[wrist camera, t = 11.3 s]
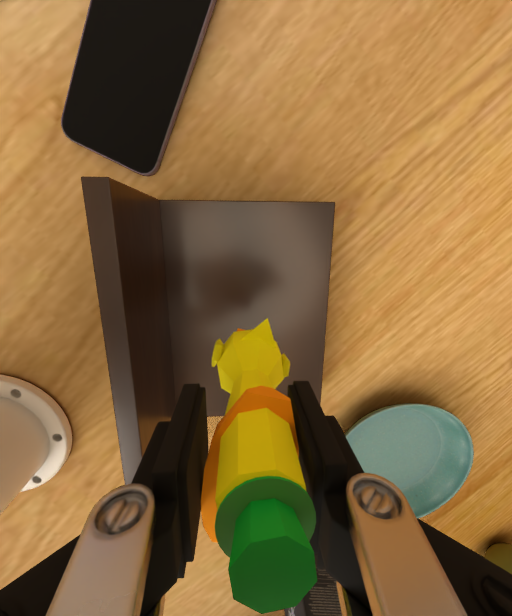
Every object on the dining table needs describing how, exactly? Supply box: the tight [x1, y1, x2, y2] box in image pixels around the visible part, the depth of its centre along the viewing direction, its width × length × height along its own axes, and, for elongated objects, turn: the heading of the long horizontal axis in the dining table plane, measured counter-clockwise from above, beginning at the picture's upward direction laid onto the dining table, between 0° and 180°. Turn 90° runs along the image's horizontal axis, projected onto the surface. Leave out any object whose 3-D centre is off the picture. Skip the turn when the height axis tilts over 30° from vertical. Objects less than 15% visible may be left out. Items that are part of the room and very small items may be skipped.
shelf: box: [81, 177, 335, 485], centre depth 20 cm, size 14×18×11 cm
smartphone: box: [61, 0, 217, 176], centre depth 20 cm, size 7×1×15 cm
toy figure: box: [201, 318, 317, 614], centre depth 11 cm, size 7×4×12 cm, turn 165°
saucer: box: [345, 403, 474, 518], centre depth 29 cm, size 15×15×3 cm
